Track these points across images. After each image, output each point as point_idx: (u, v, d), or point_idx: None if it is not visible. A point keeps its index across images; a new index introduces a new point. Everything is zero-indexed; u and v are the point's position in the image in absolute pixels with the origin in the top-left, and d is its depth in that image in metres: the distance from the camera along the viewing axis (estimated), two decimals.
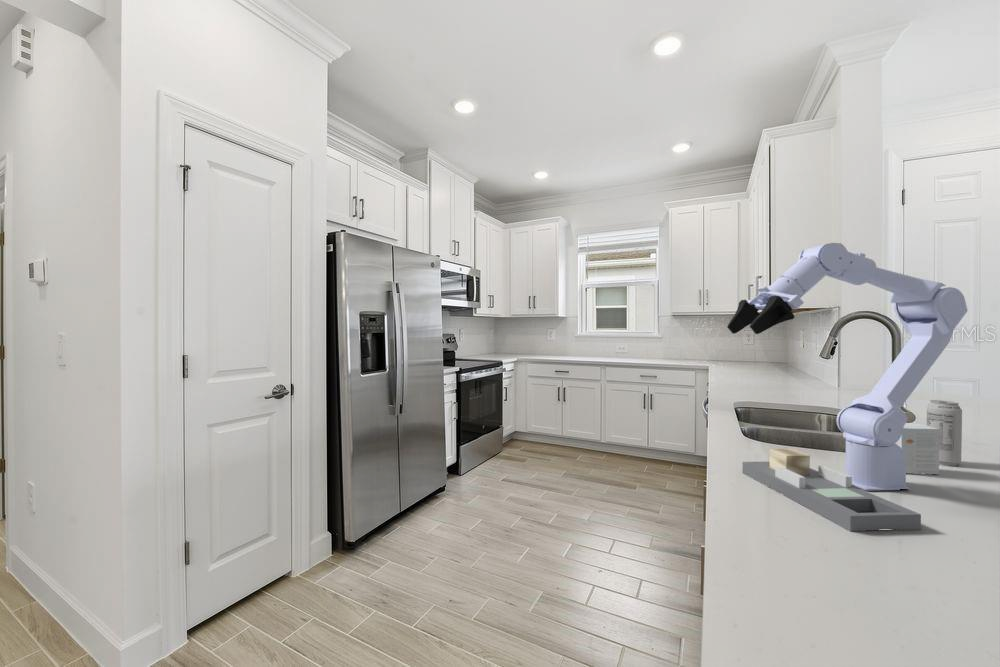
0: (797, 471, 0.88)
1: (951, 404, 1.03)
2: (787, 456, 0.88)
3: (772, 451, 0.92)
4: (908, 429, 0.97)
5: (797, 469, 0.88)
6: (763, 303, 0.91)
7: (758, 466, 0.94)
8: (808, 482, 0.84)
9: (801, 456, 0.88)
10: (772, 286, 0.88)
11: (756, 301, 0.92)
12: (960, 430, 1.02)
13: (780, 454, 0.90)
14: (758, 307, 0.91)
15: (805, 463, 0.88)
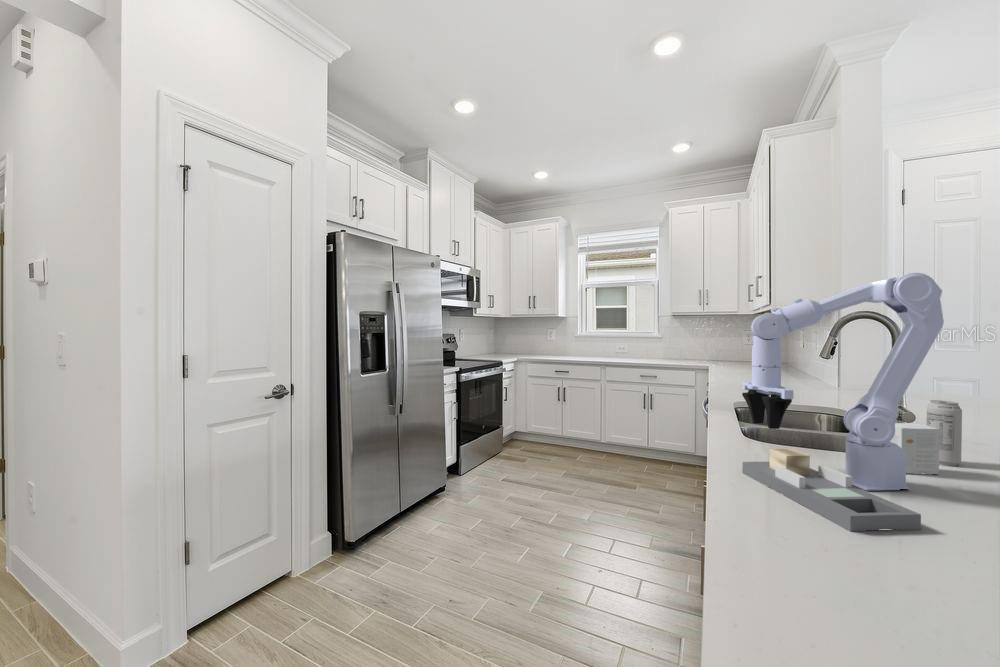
0: (797, 471, 0.88)
1: (951, 404, 1.03)
2: (787, 456, 0.88)
3: (772, 451, 0.92)
4: (908, 429, 0.97)
5: (797, 469, 0.88)
6: None
7: (758, 466, 0.94)
8: (808, 482, 0.84)
9: (801, 456, 0.88)
10: (755, 379, 0.98)
11: None
12: (960, 430, 1.02)
13: (780, 454, 0.90)
14: (757, 391, 1.01)
15: (805, 463, 0.88)
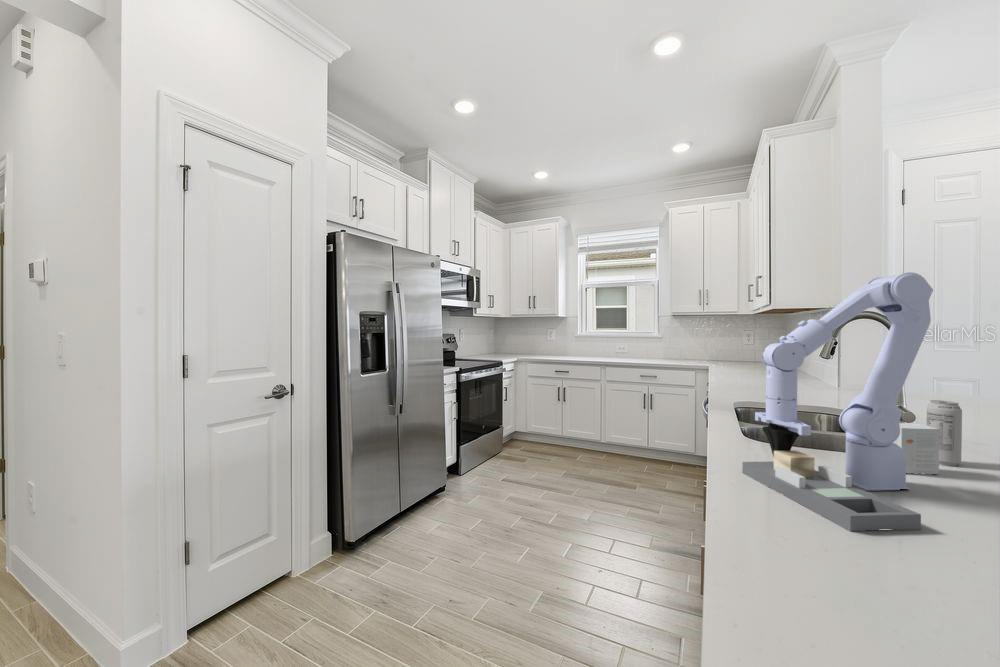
0: (802, 473, 0.87)
1: (951, 404, 1.03)
2: (791, 458, 0.87)
3: (776, 453, 0.91)
4: (908, 429, 0.97)
5: (801, 471, 0.87)
6: None
7: (758, 466, 0.94)
8: (808, 482, 0.84)
9: (806, 458, 0.87)
10: (769, 412, 0.93)
11: None
12: (960, 430, 1.02)
13: (784, 456, 0.89)
14: None
15: (810, 465, 0.87)
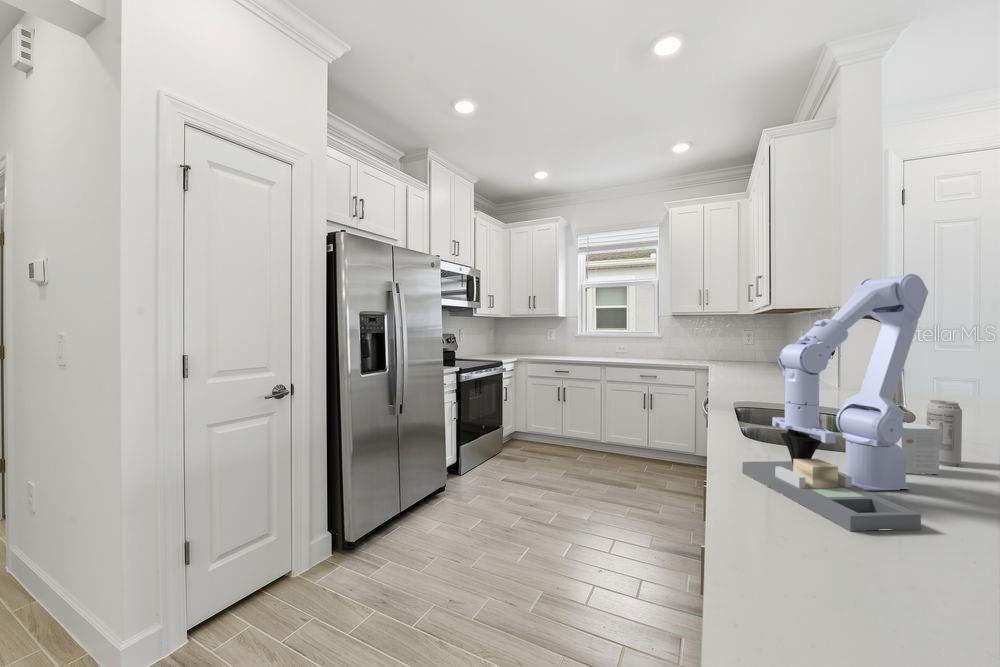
0: (824, 484, 0.81)
1: (951, 404, 1.03)
2: (813, 467, 0.81)
3: (796, 461, 0.85)
4: (908, 429, 0.97)
5: (824, 481, 0.81)
6: None
7: (758, 466, 0.94)
8: None
9: (829, 467, 0.81)
10: (789, 418, 0.87)
11: None
12: (960, 430, 1.02)
13: (805, 465, 0.83)
14: None
15: (833, 475, 0.81)
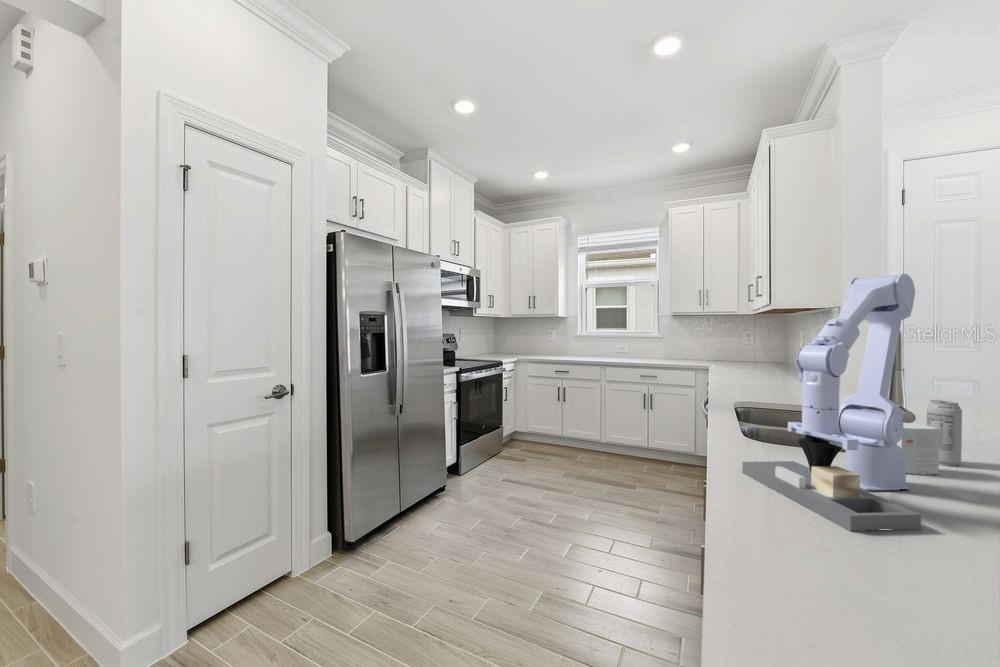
0: (846, 493, 0.77)
1: (951, 404, 1.03)
2: (834, 476, 0.76)
3: (814, 469, 0.81)
4: (908, 429, 0.97)
5: (845, 490, 0.77)
6: None
7: (758, 466, 0.94)
8: (808, 482, 0.84)
9: (850, 476, 0.77)
10: (807, 423, 0.82)
11: None
12: (960, 430, 1.02)
13: (825, 473, 0.78)
14: None
15: (855, 484, 0.77)
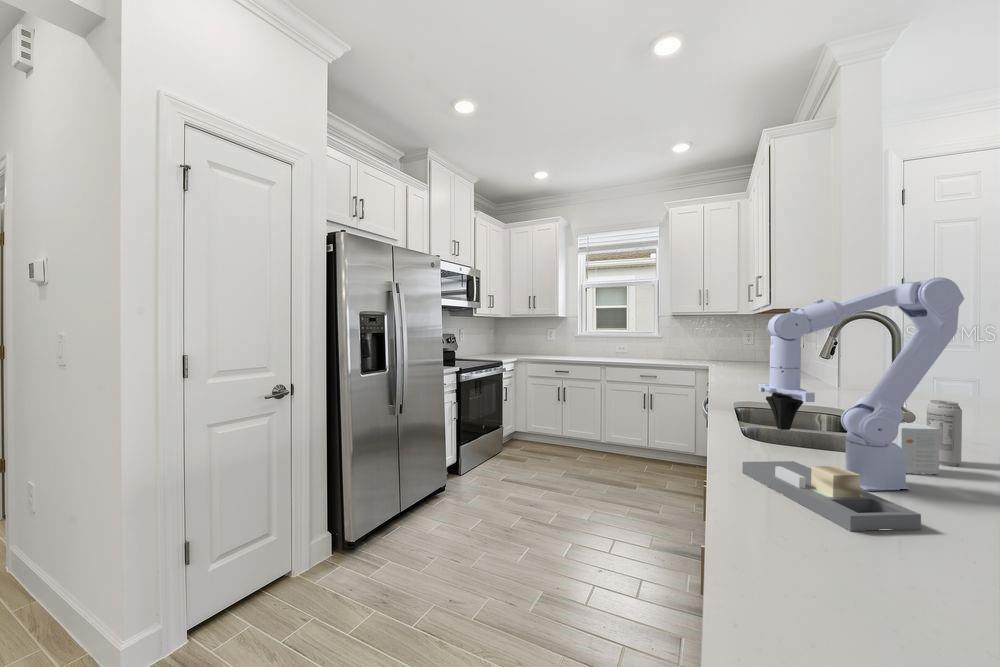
0: (846, 493, 0.77)
1: (951, 404, 1.03)
2: (834, 476, 0.76)
3: (814, 469, 0.81)
4: (908, 429, 0.97)
5: (845, 490, 0.77)
6: None
7: (758, 466, 0.94)
8: (808, 482, 0.84)
9: (850, 476, 0.77)
10: (773, 381, 0.94)
11: None
12: (960, 430, 1.02)
13: (825, 473, 0.78)
14: None
15: (855, 484, 0.77)
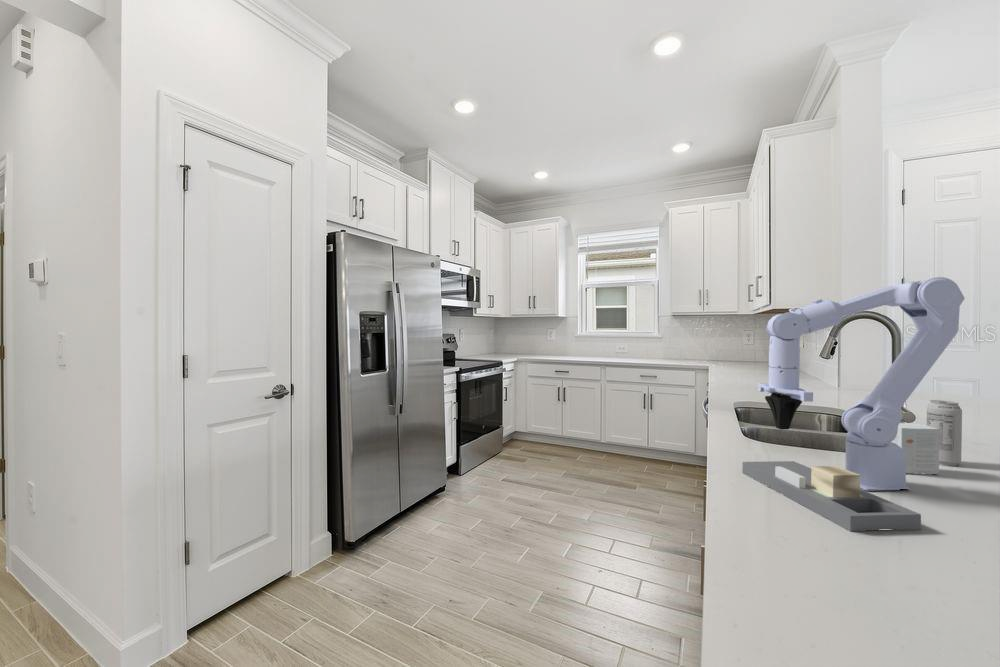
0: (846, 493, 0.77)
1: (951, 404, 1.03)
2: (834, 476, 0.76)
3: (814, 469, 0.81)
4: (908, 429, 0.97)
5: (845, 490, 0.77)
6: None
7: (758, 466, 0.94)
8: (808, 482, 0.84)
9: (850, 476, 0.77)
10: (772, 381, 0.95)
11: None
12: (960, 430, 1.02)
13: (825, 473, 0.78)
14: None
15: (855, 484, 0.77)
